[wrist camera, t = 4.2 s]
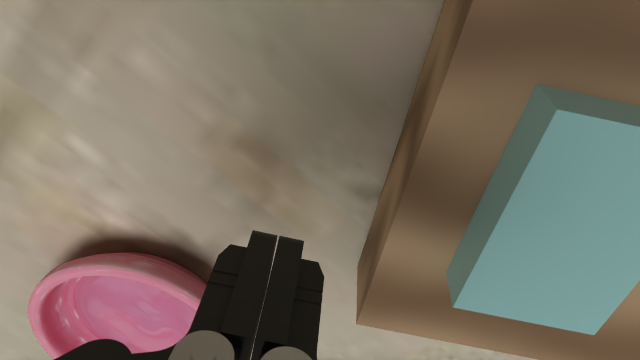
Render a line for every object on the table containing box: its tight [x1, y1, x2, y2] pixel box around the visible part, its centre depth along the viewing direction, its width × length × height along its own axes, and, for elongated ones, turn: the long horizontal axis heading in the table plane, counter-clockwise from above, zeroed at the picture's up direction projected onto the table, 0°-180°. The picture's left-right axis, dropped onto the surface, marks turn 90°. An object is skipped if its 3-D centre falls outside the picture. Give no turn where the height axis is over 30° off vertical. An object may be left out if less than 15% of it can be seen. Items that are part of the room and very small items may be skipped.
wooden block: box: [356, 0, 640, 360], centre depth 20 cm, size 18×14×4 cm
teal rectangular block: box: [446, 84, 640, 335], centre depth 17 cm, size 9×6×2 cm, turn 169°
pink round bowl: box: [28, 252, 207, 359], centre depth 29 cm, size 12×12×3 cm
